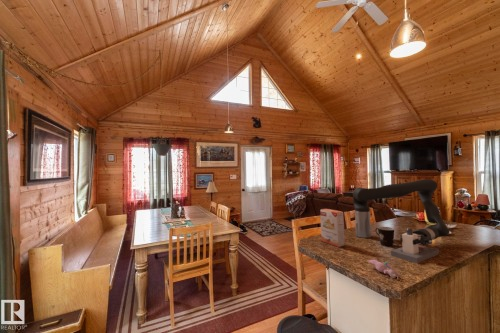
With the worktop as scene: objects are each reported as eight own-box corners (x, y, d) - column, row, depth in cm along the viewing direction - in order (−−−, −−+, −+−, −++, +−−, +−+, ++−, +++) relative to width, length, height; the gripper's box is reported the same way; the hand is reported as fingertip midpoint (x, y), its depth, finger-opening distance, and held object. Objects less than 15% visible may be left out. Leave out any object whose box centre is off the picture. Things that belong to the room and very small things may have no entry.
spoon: (457, 228, 165) (457, 223, 165) (450, 237, 144) (449, 232, 144) (441, 226, 172) (441, 221, 172) (432, 234, 151) (432, 229, 151)
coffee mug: (398, 247, 128) (397, 230, 128) (381, 247, 129) (380, 230, 130) (389, 241, 139) (388, 225, 139) (374, 241, 141) (373, 225, 141)
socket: (417, 263, 106) (416, 256, 106) (391, 255, 116) (390, 249, 116) (438, 254, 116) (438, 247, 116) (413, 247, 127) (413, 242, 127)
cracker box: (320, 241, 143) (319, 209, 144) (327, 240, 146) (326, 208, 147) (338, 247, 131) (336, 212, 132) (345, 245, 134) (343, 211, 134)
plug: (413, 256, 111) (412, 230, 111) (402, 253, 115) (401, 228, 116) (418, 254, 113) (417, 228, 114) (408, 251, 118) (406, 227, 118)
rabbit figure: (404, 281, 92) (373, 262, 106) (406, 268, 91) (374, 250, 105) (394, 284, 90) (363, 265, 104) (396, 271, 89) (364, 253, 103)
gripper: (408, 226, 128) (392, 230, 120) (439, 231, 115) (423, 237, 107) (409, 239, 128) (393, 244, 119) (440, 245, 115) (424, 252, 107)
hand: (407, 241), depth 113 cm, fingers closed on plug, 5 cm apart
